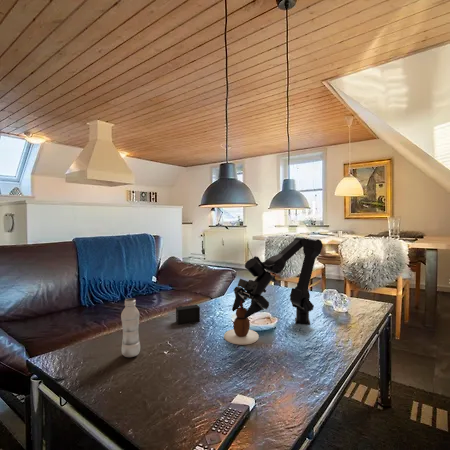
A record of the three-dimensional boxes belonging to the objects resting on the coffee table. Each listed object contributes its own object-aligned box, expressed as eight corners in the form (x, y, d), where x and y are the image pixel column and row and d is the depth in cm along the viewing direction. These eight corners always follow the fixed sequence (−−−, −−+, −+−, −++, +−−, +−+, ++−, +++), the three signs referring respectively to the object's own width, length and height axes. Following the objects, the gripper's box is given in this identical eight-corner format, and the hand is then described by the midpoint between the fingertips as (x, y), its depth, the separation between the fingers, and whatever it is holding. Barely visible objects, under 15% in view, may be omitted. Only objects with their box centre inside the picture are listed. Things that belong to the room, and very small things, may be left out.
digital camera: (196, 317, 143) (196, 303, 143) (200, 321, 138) (200, 306, 138) (175, 321, 139) (175, 306, 139) (178, 325, 134) (178, 309, 134)
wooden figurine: (243, 339, 116) (243, 302, 116) (231, 336, 120) (231, 299, 119) (251, 334, 122) (252, 298, 121) (240, 330, 125) (240, 295, 125)
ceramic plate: (227, 329, 129) (227, 327, 129) (259, 331, 126) (259, 329, 126) (221, 343, 115) (221, 341, 115) (257, 346, 113) (257, 344, 113)
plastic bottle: (123, 361, 101) (122, 303, 100) (120, 353, 107) (119, 298, 106) (142, 357, 104) (141, 301, 103) (138, 349, 110) (137, 296, 109)
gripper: (237, 267, 130) (215, 296, 125) (263, 275, 114) (239, 308, 109) (251, 283, 134) (231, 311, 129) (279, 293, 118) (256, 325, 113)
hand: (238, 313), depth 120 cm, fingers open, 9 cm apart
